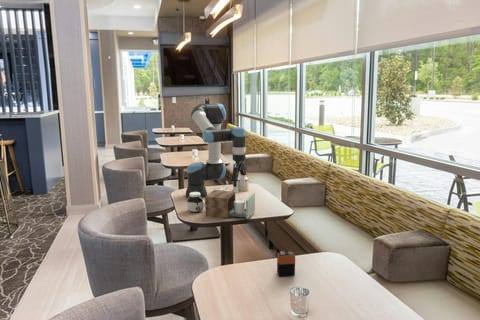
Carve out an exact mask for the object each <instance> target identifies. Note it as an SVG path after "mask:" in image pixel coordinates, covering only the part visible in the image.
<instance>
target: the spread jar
mask: <svg viewBox="0 0 480 320" xmlns="http://www.w3.org/2000/svg"><path fill="white" fill-rule="evenodd" d="M204 207H205V199H204V198H202V197H201V196H200V192H191V193H189V197H188V198H187V199H186V208H187V210H188V212H190V213H191V214H198V213H201V212H202V211H203V210H204Z"/></svg>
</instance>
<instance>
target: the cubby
mask: <svg viewBox="0 0 480 320" xmlns="http://www.w3.org/2000/svg"><path fill="white" fill-rule="evenodd" d="M235 200H236V192H233V190H231V191H230V190H217V189H214V190H212V191H211V192H209V193H207V196H205V197H204V201H205V206H204V207H205V209H204V211H205V218H206V217H208V218H215V219H216V218H217V219H225V220H228V219H229V218H230V217H231V216H228V213H229V212H230V211H231V210H232V209H233V208H234V201H235Z"/></svg>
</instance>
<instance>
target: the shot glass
mask: <svg viewBox="0 0 480 320" xmlns="http://www.w3.org/2000/svg"><path fill="white" fill-rule="evenodd" d="M234 208H235V213H236V214H243V213H244V209H246V200H244V199H235V201H234Z"/></svg>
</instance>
